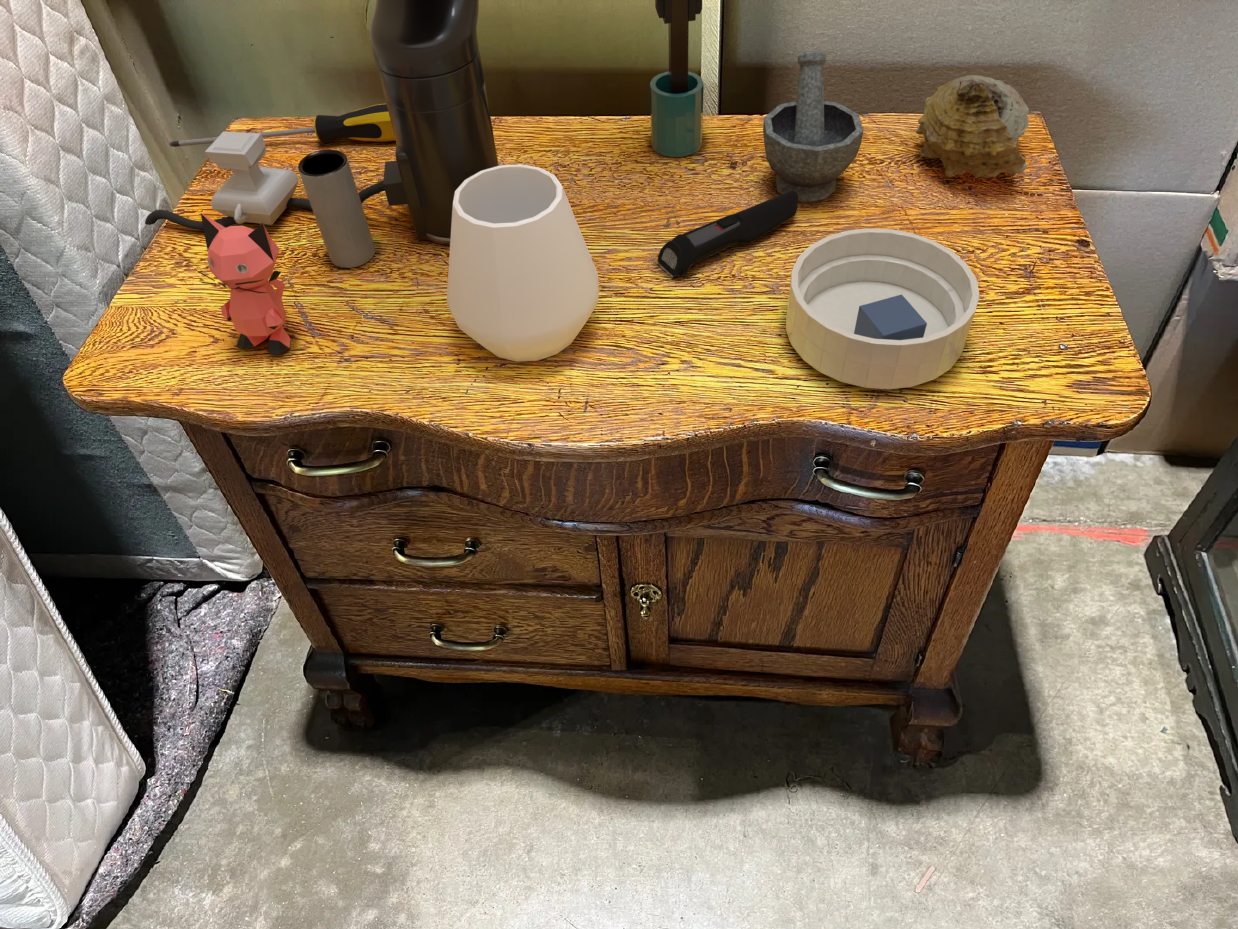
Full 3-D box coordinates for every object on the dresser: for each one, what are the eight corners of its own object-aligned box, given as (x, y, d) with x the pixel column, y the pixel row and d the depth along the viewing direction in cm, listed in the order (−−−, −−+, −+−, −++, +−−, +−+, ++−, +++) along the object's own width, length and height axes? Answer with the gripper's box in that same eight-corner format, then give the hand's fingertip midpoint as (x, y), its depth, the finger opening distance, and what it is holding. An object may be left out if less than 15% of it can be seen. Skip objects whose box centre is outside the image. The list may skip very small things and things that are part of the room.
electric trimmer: (805, 226, 90) (809, 198, 88) (677, 282, 85) (677, 254, 83) (781, 208, 93) (784, 181, 90) (655, 262, 88) (654, 234, 85)
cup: (615, 285, 86) (606, 151, 75) (586, 385, 77) (572, 250, 66) (478, 275, 88) (451, 143, 77) (436, 371, 79) (399, 238, 68)
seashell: (997, 30, 93) (918, 94, 101) (965, 81, 84) (882, 147, 92) (1062, 113, 95) (980, 169, 103) (1038, 171, 86) (950, 229, 94)
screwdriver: (428, 125, 106) (180, 150, 108) (420, 97, 103) (166, 123, 105) (424, 140, 103) (171, 165, 105) (416, 112, 101) (157, 138, 103)
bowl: (809, 404, 74) (817, 354, 70) (768, 287, 84) (773, 238, 80) (990, 382, 75) (1008, 332, 71) (928, 269, 85) (941, 219, 81)
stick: (671, 107, 97) (670, -31, 86) (669, 98, 98) (667, -39, 87) (688, 105, 97) (689, -33, 86) (685, 96, 98) (686, -41, 87)
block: (875, 371, 76) (883, 335, 73) (851, 341, 78) (859, 305, 75) (917, 359, 76) (927, 323, 73) (893, 329, 79) (901, 293, 76)
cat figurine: (212, 353, 81) (167, 230, 73) (256, 313, 86) (219, 194, 78) (281, 367, 79) (244, 242, 71) (322, 325, 84) (291, 205, 76)
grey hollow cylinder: (383, 244, 92) (356, 152, 84) (361, 271, 89) (331, 178, 81) (344, 237, 93) (314, 145, 85) (321, 264, 90) (287, 171, 82)
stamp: (273, 242, 93) (242, 168, 86) (215, 235, 94) (181, 162, 88) (311, 192, 98) (286, 119, 92) (256, 187, 100) (227, 115, 93)
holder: (655, 159, 99) (654, 98, 94) (648, 133, 103) (646, 73, 97) (706, 154, 99) (707, 93, 94) (697, 127, 103) (698, 67, 98)
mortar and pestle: (858, 211, 91) (878, 97, 82) (764, 214, 92) (773, 101, 83) (842, 150, 98) (859, 40, 89) (755, 153, 99) (763, 43, 90)
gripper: (748, -209, 80) (739, -4, 93) (593, -194, 80) (606, 10, 93) (766, -184, 75) (754, 28, 88) (601, -168, 75) (614, 43, 88)
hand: (678, 18), depth 90 cm, fingers closed on stick, 2 cm apart
